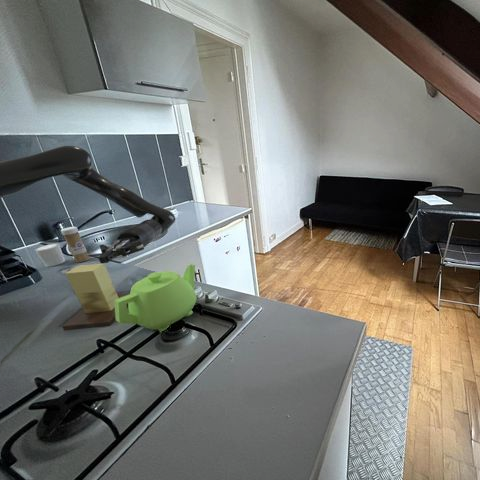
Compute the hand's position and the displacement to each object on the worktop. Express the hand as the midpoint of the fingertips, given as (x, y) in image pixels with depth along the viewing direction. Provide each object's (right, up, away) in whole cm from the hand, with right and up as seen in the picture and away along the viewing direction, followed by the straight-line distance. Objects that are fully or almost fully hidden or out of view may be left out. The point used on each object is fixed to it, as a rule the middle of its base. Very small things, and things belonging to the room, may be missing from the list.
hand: (102, 260), depth 72 cm
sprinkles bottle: (-33, -3, +31) cm, 46 cm away
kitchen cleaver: (-21, -8, +17) cm, 28 cm away
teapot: (+22, -14, -5) cm, 26 cm away
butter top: (+2, -7, -4) cm, 8 cm away
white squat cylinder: (-43, -4, +30) cm, 53 cm away
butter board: (+2, -14, -1) cm, 14 cm away
